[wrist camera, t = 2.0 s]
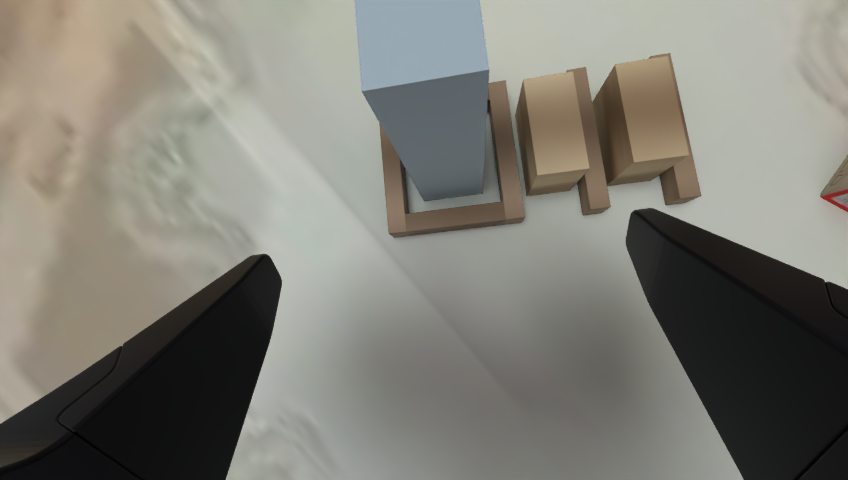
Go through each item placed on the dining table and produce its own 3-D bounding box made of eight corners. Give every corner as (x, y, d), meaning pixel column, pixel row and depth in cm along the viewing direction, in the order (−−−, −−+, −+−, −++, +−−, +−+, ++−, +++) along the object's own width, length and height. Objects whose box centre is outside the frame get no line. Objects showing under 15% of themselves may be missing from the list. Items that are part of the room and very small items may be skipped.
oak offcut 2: (649, 180, 21) (689, 154, 17) (605, 186, 21) (634, 162, 17) (633, 98, 22) (667, 55, 18) (590, 105, 22) (615, 64, 18)
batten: (482, 193, 22) (489, 69, 10) (424, 201, 23) (361, 91, 10) (474, 130, 23) (471, -60, 11) (417, 138, 23) (352, -35, 11)
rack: (685, 202, 21) (701, 195, 19) (394, 237, 23) (388, 233, 21) (657, 69, 22) (670, 53, 20) (383, 113, 24) (377, 101, 22)
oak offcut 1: (569, 191, 22) (589, 168, 18) (526, 196, 22) (537, 175, 18) (555, 110, 22) (572, 71, 19) (515, 116, 23) (523, 79, 19)
